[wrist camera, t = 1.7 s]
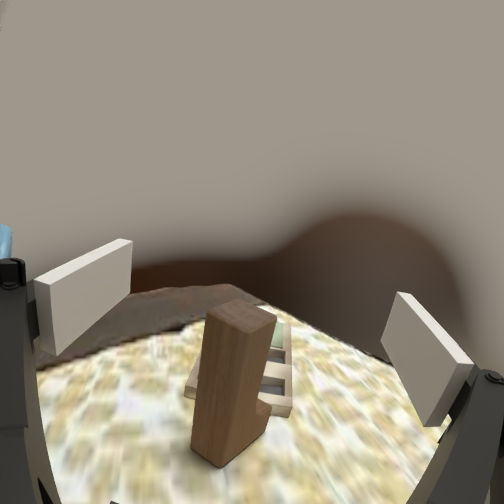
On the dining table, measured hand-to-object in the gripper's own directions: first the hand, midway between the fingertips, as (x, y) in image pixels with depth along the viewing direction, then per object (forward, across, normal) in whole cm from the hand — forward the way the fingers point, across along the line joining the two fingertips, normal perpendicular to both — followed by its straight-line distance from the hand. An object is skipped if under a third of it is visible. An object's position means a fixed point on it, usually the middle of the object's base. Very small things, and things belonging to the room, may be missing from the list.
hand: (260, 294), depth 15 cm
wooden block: (+13, 0, -24) cm, 27 cm away
